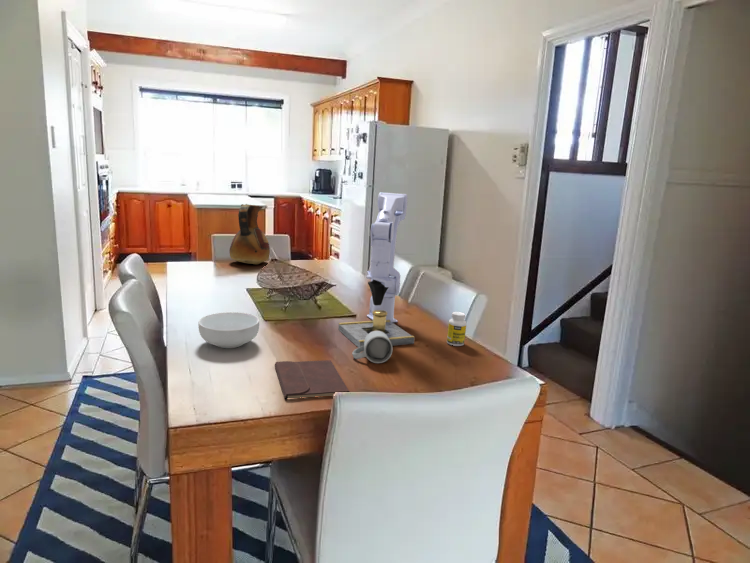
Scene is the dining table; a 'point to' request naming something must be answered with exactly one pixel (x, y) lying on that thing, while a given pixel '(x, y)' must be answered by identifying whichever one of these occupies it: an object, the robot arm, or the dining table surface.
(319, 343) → the dining table surface
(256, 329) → the cereal bowl
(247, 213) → the ceramic pitcher
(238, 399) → the dining table surface
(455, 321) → the supplement bottle
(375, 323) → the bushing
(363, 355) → the ceramic mug
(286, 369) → the notebook
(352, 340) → the jig
